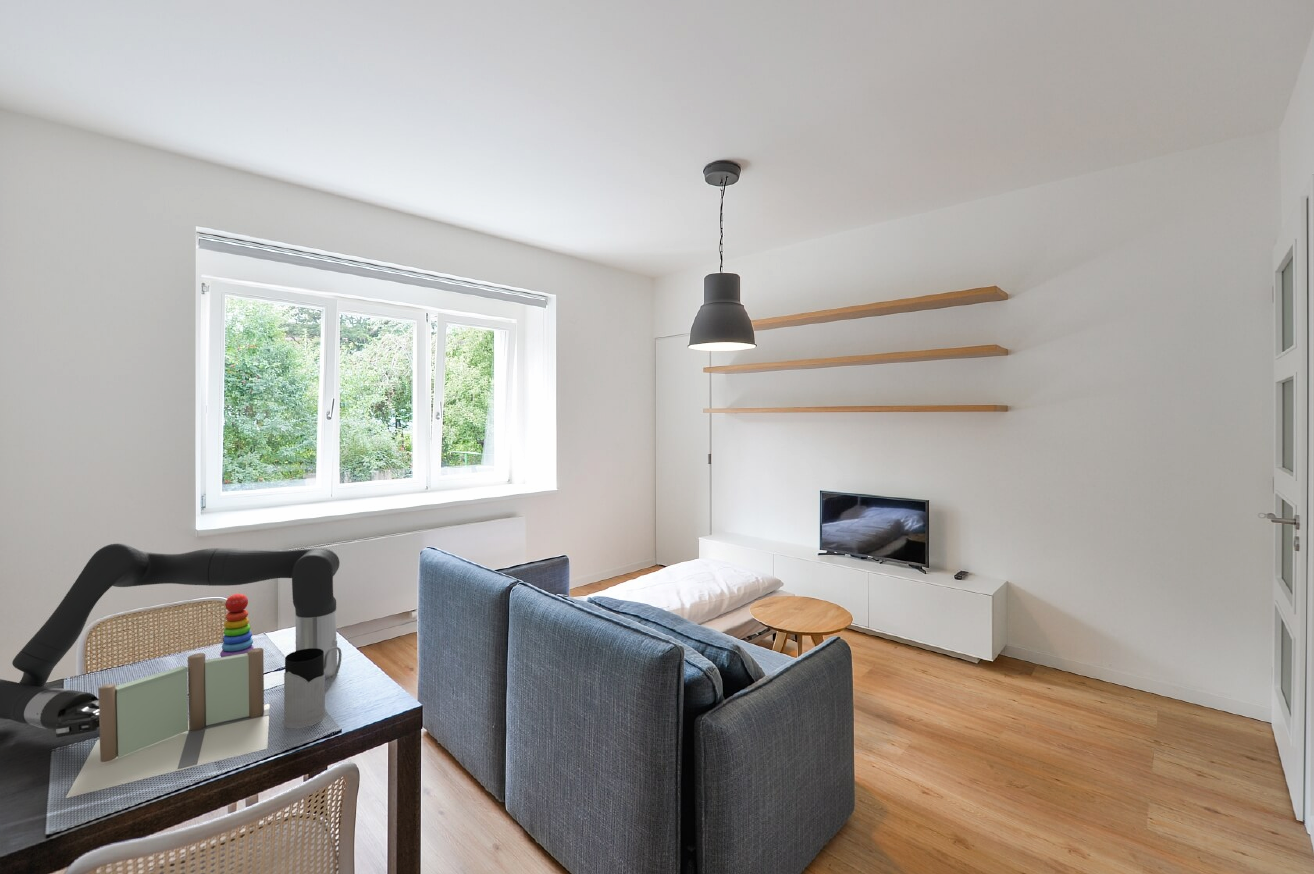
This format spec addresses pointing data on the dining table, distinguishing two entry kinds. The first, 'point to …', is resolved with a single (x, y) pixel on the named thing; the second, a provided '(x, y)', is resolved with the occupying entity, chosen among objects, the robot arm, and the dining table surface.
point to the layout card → (175, 753)
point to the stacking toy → (236, 627)
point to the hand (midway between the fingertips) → (127, 720)
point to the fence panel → (142, 712)
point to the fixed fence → (225, 688)
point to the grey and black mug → (306, 686)
